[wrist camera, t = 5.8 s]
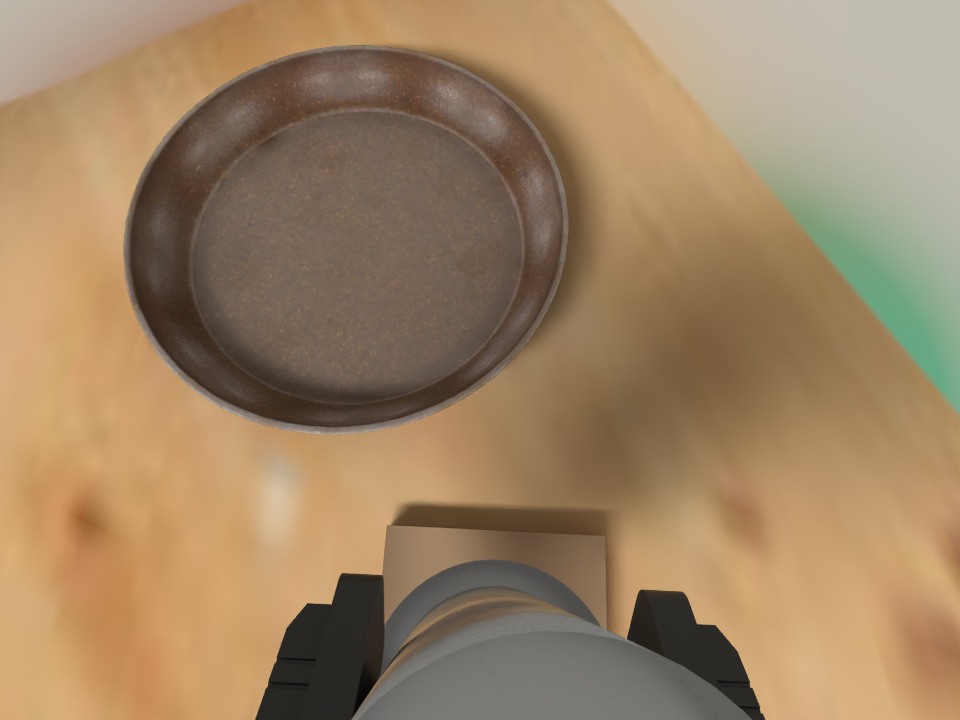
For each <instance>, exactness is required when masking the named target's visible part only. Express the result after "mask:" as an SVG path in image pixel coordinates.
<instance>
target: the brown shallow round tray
mask: <svg viewBox="0 0 960 720" xmlns="http://www.w3.org/2000/svg"><path fill="white" fill-rule="evenodd" d="M568 234H569V222H568V208H567V201H566V194H565V190H564V186H563V182H562V178H561V175H560V172H559V169H558V167H557V164H556V162H555V160H554V157H553V155H552V153H551V151H550V149H549V147H548V145H547V144H546V142H545V140H544V139H543V137H542V135H541V133H540V132H539V131H538V130H537V128H536V127H535V126H534V124H533V123H532V122H531V120H530V119H529V118H528V117H527V116H526V115H525V113H524V112H523V111H522V110H521V109H520V108H519V107H518V106H517V105H516V104H515V103H514V102H513V101H511V100H510V99H509V98H508V97H507V96H506V95H504V94H503V93H502V92H501V91H500V90H498V89H497V88H496V87H494V86H493V85H491V84H490V83H488V82H487V81H485V80H483V79H481V78H480V77H478V76H476V75H474V74H473V73H471V72H469V71H468V70H466V69H464V68H462V67H459V66H457V65H455V64H453V63H450V62H447V61H445V60H442V59H439V58H436V57H433V56H430V55H426V54H423V53H419V52H417V51H411V50H406V49H397V48H392V47H383V46H371V45H350V46H333V47H327V48H319V49H313V50H308V51H304V52H299V53H295V54H292V55H288V56H285V57H282V58H279V59H276V60H274V61H271V62H267V63H265V64H262V65H260V66H258V67H256V68H253V69H251V70H249V71H247V72H245V73H243V74H240V75H239V76H237V77H236V78H234V79H232V80H230V81H228V82H227V83H225V84H223V85H222V86H220V87H218V88H217V89H216V90H215V91H214V92H213V93H211V94H210V95H208V96H207V97H205V98H204V99H203V100H201V101H200V102H199V103H198V104H196V105H195V106H194V107H193V108H192V109H191V110H189V111H188V112H187V113H186V114H185V115H184V116H183V117H182V118H181V119H180V120H179V121H178V122H177V123H176V124H175V125H174V127H173V128H172V129H171V130H170V131H169V132H168V133H167V135H166V136H165V137H164V138H163V140H162V141H161V143H160V144H159V145H158V147H157V148H156V150H155V151H154V153H153V154H152V156H151V158H150V160H149V161H148V163H147V164H146V166H145V168H144V170H143V172H142V174H141V176H140V178H139V181H138V183H137V185H136V189H135V191H134V194H133V196H132V199H131V203H130V207H129V211H128V215H127V219H126V224H125V232H124V243H123V259H124V273H125V279H126V284H127V289H128V293H129V297H130V301H131V304H132V306H133V309H134V313H135V315H136V317H137V319H138V322H139V324H140V326H141V328H142V329H143V331H144V333H145V335H146V336H147V338H148V340H149V341H150V343H151V345H152V346H153V347H154V349H155V350H156V352H157V353H158V355H159V356H160V357H161V358H162V360H163V361H164V362H165V363H166V364H167V365H168V366H169V367H170V368H171V369H172V370H173V372H174V373H175V374H176V375H177V376H178V377H179V378H181V379H182V380H183V381H184V382H185V383H186V384H187V385H188V386H190V387H191V388H192V389H193V390H195V391H196V392H197V393H199V394H200V395H202V396H203V397H205V398H206V399H208V400H209V401H211V402H212V403H214V404H216V405H218V406H220V407H221V408H223V409H225V410H227V411H229V412H231V413H233V414H235V415H238V416H240V417H242V418H245V419H247V420H250V421H253V422H256V423H259V424H263V425H266V426H270V427H274V428H279V429H283V430H288V431H295V432H302V433H312V434H350V433H363V432H370V431H377V430H382V429H387V428H391V427H396V426H400V425H403V424H406V423H410V422H413V421H416V420H419V419H422V418H424V417H427V416H430V415H432V414H434V413H437V412H439V411H441V410H443V409H445V408H447V407H449V406H451V405H453V404H455V403H457V402H459V401H460V400H462V399H464V398H465V397H467V396H469V395H470V394H472V393H473V392H475V391H476V390H478V389H479V388H480V387H482V386H483V385H484V384H486V383H487V382H488V381H490V380H491V379H492V378H494V377H495V376H496V375H497V374H498V373H499V372H500V371H501V370H502V369H503V368H505V367H506V366H507V365H508V364H509V363H510V362H511V361H512V360H513V358H514V357H515V356H516V355H517V354H518V353H519V352H520V351H521V349H522V348H523V347H524V346H525V345H526V343H527V342H528V341H529V339H530V338H531V337H532V335H533V334H534V332H535V331H536V329H537V328H538V326H539V325H540V323H541V321H542V320H543V318H544V316H545V314H546V313H547V311H548V309H549V307H550V305H551V303H552V300H553V298H554V295H555V293H556V290H557V288H558V285H559V282H560V279H561V276H562V272H563V269H564V264H565V259H566V253H567V246H568Z"/></svg>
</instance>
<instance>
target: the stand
mask: <svg viewBox="0 0 960 720" xmlns="http://www.w3.org/2000/svg"><path fill="white" fill-rule="evenodd" d="M478 560H507V561H512V562H518V563H522V564H525V565H528V566H531V567H534V568H537V569H539V570H541V571H543V572H545V573H547V574H549V575H551V576H553V577H554V578H556V579H557V580H559V581H560V582H562V583H563V584H565V585H566V586H567V587H568V588H569V589H570V590H572V591H573V592H574V593H575V594H576V595H577V596H578V597H579V598H580V599H581V600H582V601H583V602H584V603H585V605H586V606H587V607H588V608H589V609H590V611H591V612H592V614H593V615H594V617H595V618H596V619H597V621H598V622H599V624H600V626H601V627H602V628H604V629H606V630H607V603H606V537H605V536H597V535H576V534H556V533H536V532H516V531H496V530H476V529H455V528H435V527H415V526H395V525H387V530H386V541H385V552H384V563H383V574H382V575H383V578H384V624H386V622H387V621H388V619H389V618H390V616H391V614H392V613H393V612H394V610H395V609H396V608H397V607H398V606H399V604H400V603H401V602H402V601H403V600H404V599H405V598H406V597H407V596H408V595H409V594H410V593H411V592H412V591H413V590H414V589H415V588H416V587H418V586H419V585H420V584H422V583H423V582H424V581H426V580H427V579H429V578H430V577H432V576H434V575H436V574H438V573H439V572H441V571H443V570H445V569H448V568H450V567H453V566H455V565H458V564H462V563H466V562H471V561H478Z"/></svg>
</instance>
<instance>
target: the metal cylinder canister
mask: <svg viewBox="0 0 960 720" xmlns="http://www.w3.org/2000/svg"><path fill="white" fill-rule="evenodd" d="M351 720H752V719H751V718H750V717H749V716H748V715H747V714H746V713H745V712H744V711H743V710H742V709H740V708H739V707H738V706H737V705H736V704H734V703H733V702H732V701H731V700H730V699H729V698H727V697H726V696H725V695H724V694H723V693H721V692H720V691H719V690H718V689H717V688H716V687H714V686H713V685H711V684H710V683H708V682H707V681H705V680H703V679H702V678H700V677H699V676H697V675H696V674H694V673H693V672H691V671H690V670H688V669H687V668H685V667H684V666H682V665H680V664H678V663H675V662H673V661H671V660H669V659H667V658H665V657H663V656H661V655H659V654H657V653H655V652H653V651H651V650H649V649H646V648H644V647H642V646H640V645H638V644H636V643H634V642H631V641H629V640H627V639H625V638H623V637H621V636H619V635H616V634H614V633H612V632H610V631H608V630H606V629H604V628H602V627H601V626H600V624H599V622H598V621H597V619H596V618H595V617H594V615H593V614H592V612H591V611H590V609H589V608H588V607H587V606H586V605H585V603H584V602H583V601H582V600H581V599H580V598H579V597H578V596H577V595H576V594H575V593H574V592H573V591H572V590H570V589H569V588H568V587H567V586H566V585H565V584H563V583H562V582H560V581H559V580H557V579H556V578H554V577H553V576H551V575H549V574H547V573H545V572H543V571H541V570H539V569H537V568H534V567H531V566H528V565H525V564H522V563H518V562H512V561H507V560H478V561H471V562H466V563H462V564H458V565H455V566H453V567H450V568H448V569H445V570H443V571H441V572H439V573H438V574H436V575H434V576H432V577H430V578H429V579H427V580H426V581H424V582H423V583H422V584H420V585H419V586H418V587H416V588H415V589H414V590H413V591H412V592H411V593H410V594H409V595H408V596H407V597H406V598H405V599H404V600H403V601H402V602H401V603H400V604H399V606H398V607H397V608H396V609H395V610H394V612H393V613H392V614H391V616H390V618H389V619H388V621H387V622H386V624H385V637H384V652H383V661H382V669H381V675H380V678H379V680H378V681H377V683H376V684H375V685H374V687H373V688H372V690H371V691H370V693H369V694H368V696H367V697H366V699H365V700H364V702H363V703H362V705H361V706H360V708H359V709H358V710H357V712H356V713H355V715H354V716H353V718H352V719H351Z"/></svg>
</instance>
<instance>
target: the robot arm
mask: <svg viewBox="0 0 960 720" xmlns="http://www.w3.org/2000/svg"><path fill="white" fill-rule="evenodd" d="M384 637H385V624H384V578H383V575H369V574H349V573H342V574H341V575H340V578H339V580H338V584H337V587H336V591H335V595H334V598H333V602H332V605H330V604H311V603H307V605H306V606H305V607H304V608H303V609H302V611H301V612H300V613H299V614H298V615H297V616H296V618H295V619H294V620H293V621H292V622H291V624H290V625H289V626H288V627H287V629H286V632H285V635H284V638H283V641H282V643H281V646H280V649H279V652H278V655H277V661H276V663H275V664H274V667H273V670H272V673H271V675H270V678H269V681H268V687H267V688H266V690H265V693H264V696H263V699H262V702H261V705H260V707H259V710H258V713H257V716H256V719H255V720H351V719H352V718H353V716H354V715H355V713H356V712H357V710H358V709H359V708H360V706H361V705H362V703H363V702H364V700H365V699H366V697H367V696H368V694H369V693H370V691H371V690H372V688H373V687H374V685H375V684H376V683H377V681H378V680H379V678H380V675H381V669H382V661H383V652H384ZM627 640H629V641H631V642H634V643H636V644H638V645H640V646H642V647H644V648H646V649H649V650H651V651H653V652H655V653H657V654H659V655H661V656H663V657H665V658H667V659H669V660H671V661H673V662H675V663H678V664H680V665H682V666H684V667H685V668H687V669H688V670H690V671H691V672H693V673H694V674H696V675H697V676H699V677H700V678H702V679H703V680H705V681H707V682H708V683H710V684H711V685H713V686H714V687H716V688H717V689H718V690H719V691H720V692H721V693H723V694H724V695H725V696H726V697H727V698H729V699H730V700H731V701H732V702H733V703H734V704H736V705H737V706H738V707H739V708H740V709H742V710H743V711H744V712H745V713H746V714H747V715H748V716H749V717H750V718H751V719H752V720H765V718H764V716H763V714H761V713H760V706H759V703H758V701H757V698H756V696H755V693H754V691H753V688H750V681H749V679H748V676H747V674H746V671H745V669H744V666H743V664H742V661H741V659H740V656H739V654H738V652H737V650H736V649H735V648H734V647H733V646H732V645H731V643H730V642H729V641H728V640H727V639H726V637H725V636H724V635H723V634H722V633H721V631H720V630H719V629H718V628H717V627H716V626H715V625H701V624H697V623H696V620H695V617H694V615H693V612H692V609H691V606H690V603H689V601H688V598H687V596H686V595H685V594H684V593H683V592H678V591H659V590H640V591H639V593H638V596H637V599H636V603H635V608H634V612H633V616H632V620H631V624H630V628H629V632H628V637H627Z"/></svg>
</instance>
